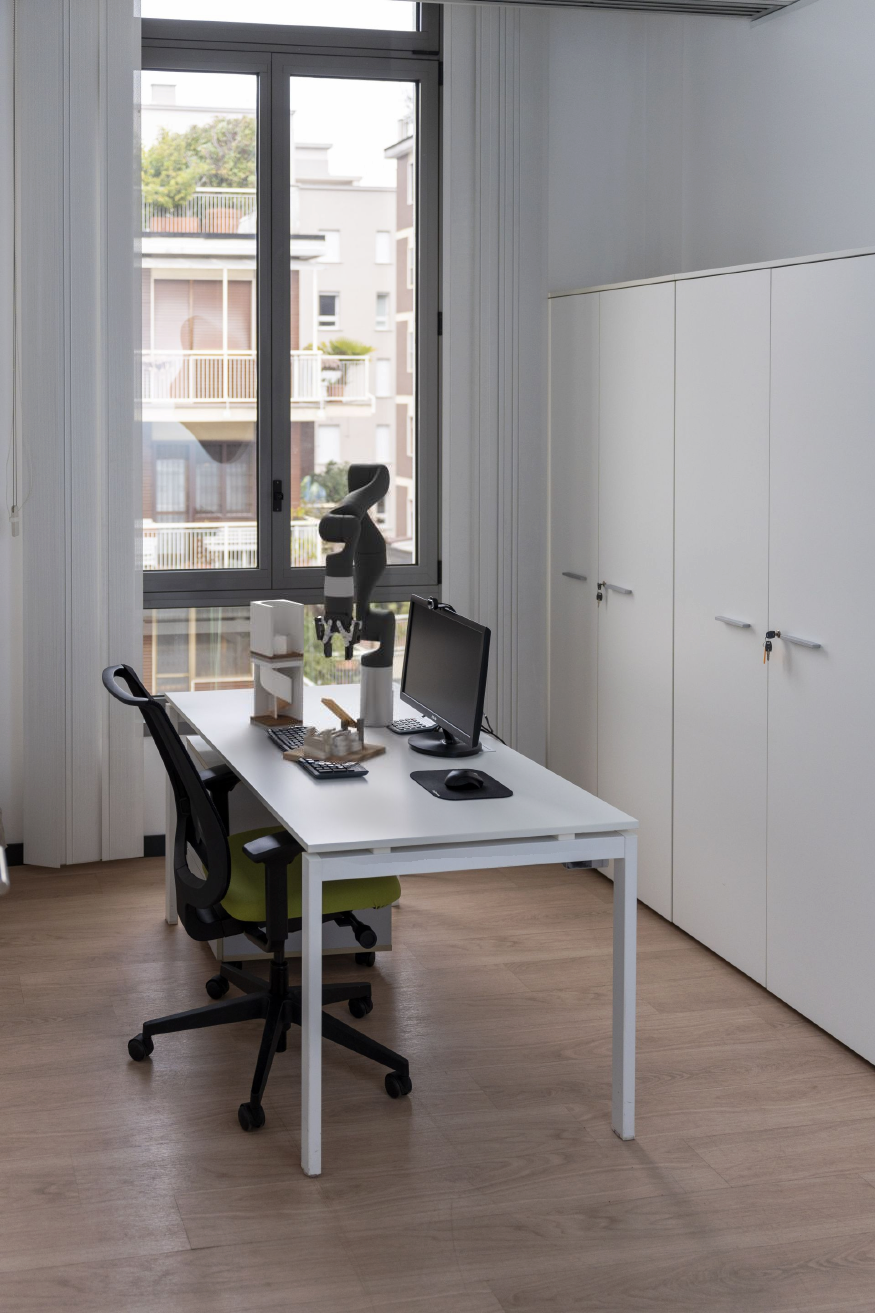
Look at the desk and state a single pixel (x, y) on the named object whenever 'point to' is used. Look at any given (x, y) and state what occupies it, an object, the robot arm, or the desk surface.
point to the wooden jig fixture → (335, 745)
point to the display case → (277, 663)
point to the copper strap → (339, 712)
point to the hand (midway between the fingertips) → (338, 658)
